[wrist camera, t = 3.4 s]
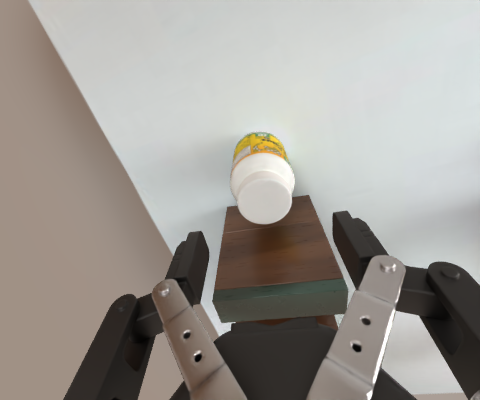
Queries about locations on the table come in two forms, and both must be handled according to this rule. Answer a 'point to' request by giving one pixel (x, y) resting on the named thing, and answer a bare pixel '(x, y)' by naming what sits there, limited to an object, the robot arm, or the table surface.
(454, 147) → the table surface
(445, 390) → the table surface
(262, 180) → the supplement bottle
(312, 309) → the notched wooden block
